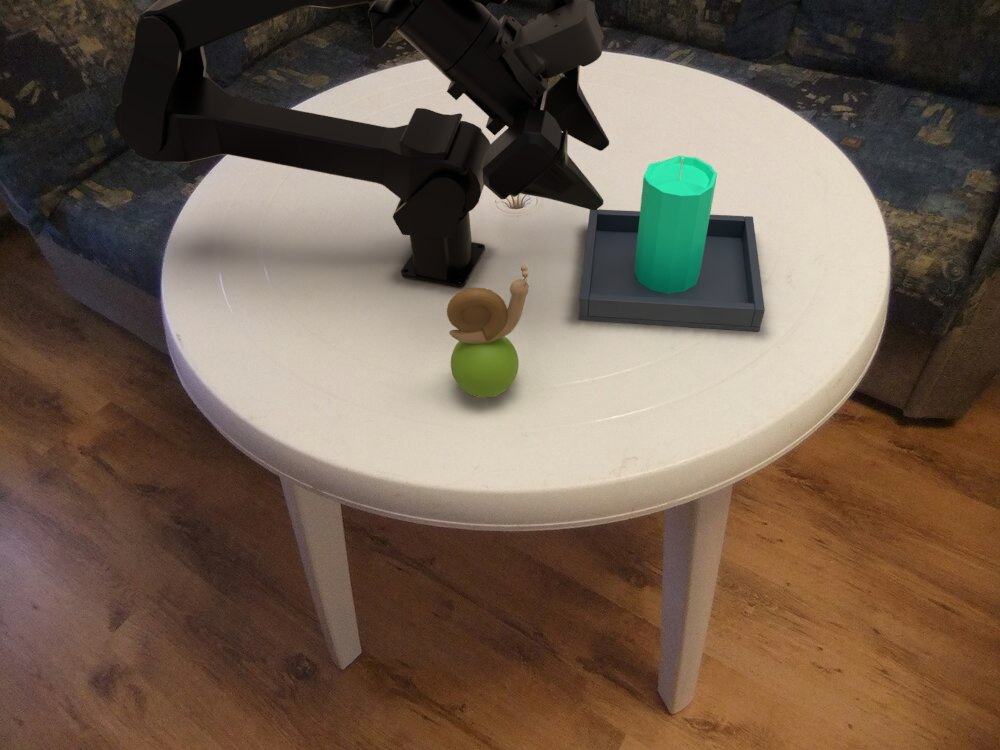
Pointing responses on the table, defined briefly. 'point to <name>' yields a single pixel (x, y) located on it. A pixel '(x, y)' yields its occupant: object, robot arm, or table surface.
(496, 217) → the table surface
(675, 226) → the candle
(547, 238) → the table surface
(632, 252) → the tray
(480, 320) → the snail figurine
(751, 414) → the table surface
